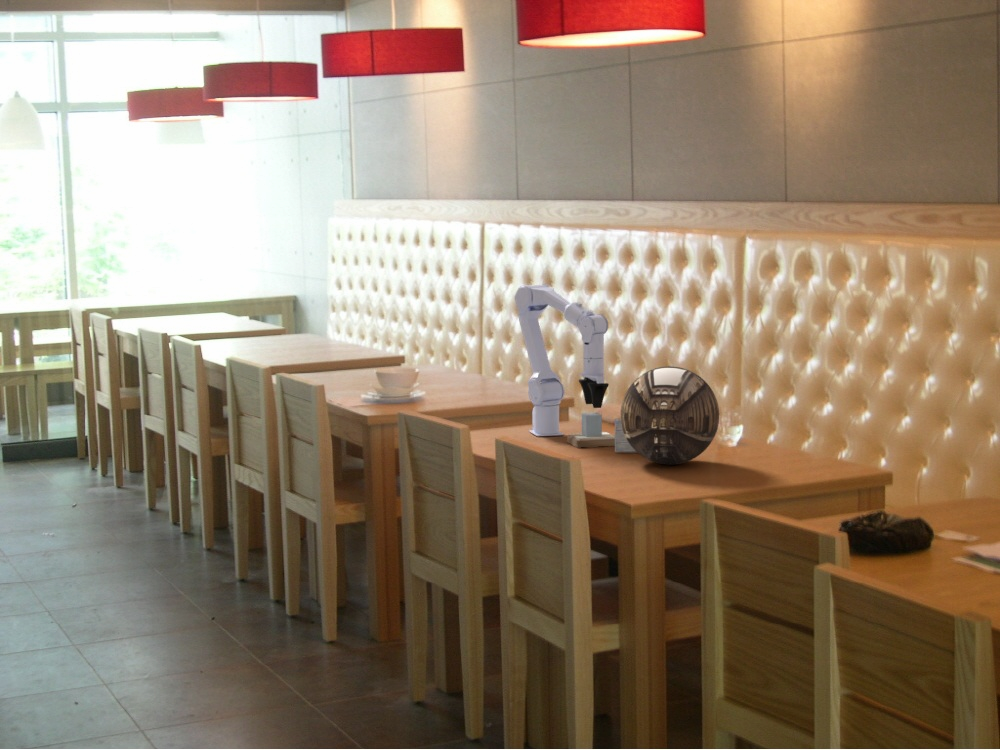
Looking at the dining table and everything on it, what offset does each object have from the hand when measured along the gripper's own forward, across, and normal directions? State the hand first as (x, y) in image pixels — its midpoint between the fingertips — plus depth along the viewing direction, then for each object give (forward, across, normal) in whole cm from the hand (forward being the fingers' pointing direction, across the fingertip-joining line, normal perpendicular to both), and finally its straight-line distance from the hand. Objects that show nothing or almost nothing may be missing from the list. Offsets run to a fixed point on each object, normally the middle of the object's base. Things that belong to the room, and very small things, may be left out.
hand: (593, 405), depth 364 cm
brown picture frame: (+10, +3, -1) cm, 11 cm away
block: (+8, +3, -2) cm, 9 cm away
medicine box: (+10, +17, +5) cm, 21 cm away
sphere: (+10, +37, +9) cm, 40 cm away
